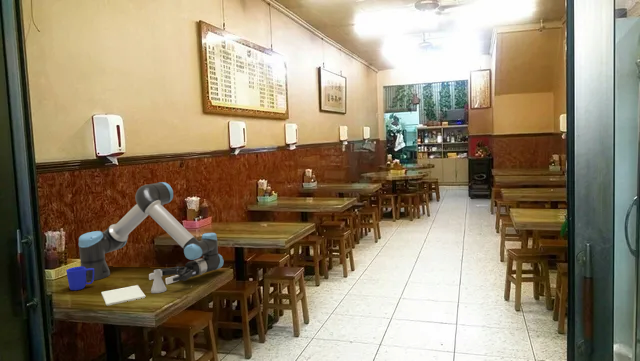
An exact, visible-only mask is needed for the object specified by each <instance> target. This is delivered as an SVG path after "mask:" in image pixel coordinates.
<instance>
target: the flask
mask: <svg viewBox="0 0 640 361" xmlns="http://www.w3.org/2000/svg"><path fill="white" fill-rule="evenodd" d="M160 269H161V268H160ZM160 269H159V268H158V269H154V270H153V273H155V276H154V279H153V282H152V285H151V290H150V292H151V294H160V293H164V292H166V291H168V289H167V287H166V283H164V280H163V277H161V273H160V271H161V270H160Z"/></svg>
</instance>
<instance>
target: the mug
mask: <svg viewBox="0 0 640 361" xmlns="http://www.w3.org/2000/svg"><path fill="white" fill-rule="evenodd" d="M87 270H93V278H92V281H89V282H88V281H86V271H87ZM66 276H67V281H68V287H69V289H70V291H79V290H83V289H85V287H86V285H90V284H93V283H94V281H95V280H94V268H89V269H85V267H80V266H73V267H70V268H68V269H66Z"/></svg>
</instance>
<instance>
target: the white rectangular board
mask: <svg viewBox="0 0 640 361" xmlns="http://www.w3.org/2000/svg"><path fill="white" fill-rule="evenodd" d="M101 297H102V298H103V300H104V303H105V305H106V306H107V307H109V306H112V305H113V306H114V305H117V304H121V303H126V302H127V301H128V302H132V301H136V299H137V300H142V299H146V298H145V297H146V295H145V293H144V292H143V290H142V289H141V288H140V286H139V284H136V285H131V286H126V287H122V288H116V289H111V290H105V291H101ZM141 298H142V299H141Z"/></svg>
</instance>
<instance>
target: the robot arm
mask: <svg viewBox="0 0 640 361" xmlns="http://www.w3.org/2000/svg"><path fill="white" fill-rule="evenodd" d="M134 197H135V202H136V204H135V205H134V206H133V207H132V208H131V209H129V211H128V212H127V213H126V214H125V215H124V216H123V217H122V218H120V220H119V221H118V222H117V223H113V224H111V225H110V226H108V227H107V229H106V230H103V231H101V230H96V231H91V232H90V231H89V232H86V233H83V234H81V235H80V236H79V237H78V244H77V245H78V248H79V249H78V251H79V260H80V266H79V267H85V269H89V268H94V280H93V281H96V280H101V279H105V278H107V277H109V276H111V271H110V269H109V265H108V264H107V262H106V256H105V254H107V253H112V252H114V251H117V250H120V249H122V248H123V247H125V246H126V244H127V242H128V239H129V234H130V233H131V232H133V231H134V230H135V229H136V228H137V227H138V226H140V224H141V223H142V222H143V221H144V220H145V219H146V218H147V217H148V216H149V217H151V218H152V219H153V220H154V221H155V222H156V223H157V224H158V225H159V226H160V227H161V228H162V229H163V230H164V231H165V232H166V233H167V234H168V235H169V236H170V237H171V238H172V239H173V240H174V241H175V242H176V243H177V244H178V245H179V246H180V247H181V248H182V249H183V253H184V256H185V257H184V258H186V259H188V260H190V261H188V262H187V263H185V264H184V265H185V266H180V265H178V266H174V267H167V268H160V270H161V271H160V273H161V278H163V276H168V277H166V278H164V279H165V285H170V284H172V283H176V282H179V281H183V282H185V281H187V280H189V279H190V278H193V277H197V276H199V275H200V276H201V275H203V274H206V273H210V272H213V271H217V270H218V269H220V268H222V267H223V266H224V261H225V260H224V258H223V256H222V255H221V254H220V253H219V247H218V238H217V237H218V236H217V233H215V232H205V233H203V234H202V235H201V240H198V239H197V238H196V237H195V236H194V235H193V234H192V233H191V232H190V231H189V230H187V228H185V226H183V224H181V223H180V222H179V221H178V220H177V219H176V218H175V216H173V214H172V213H170V212H169V211H168V210H167V208H165V207H164V205H166V204H169V203H171V201H172V200H173V199H174V190H173V188H172V187H171V185H170V184H169V183H167V182H165V181H164V182H163V181H162V182H160V181H159V182H156V183H149V184H144V185H142V186H140V187H139V188H138V189H137V190H136V193H135V196H134ZM201 257H202V258H201ZM170 275H171V276H170ZM154 276H155V273H154V272H151V273H149V274H148V280H149V281H151V280H154ZM169 276H170V277H169ZM92 278H93V270H87V271H86V282H91V281H92Z"/></svg>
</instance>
